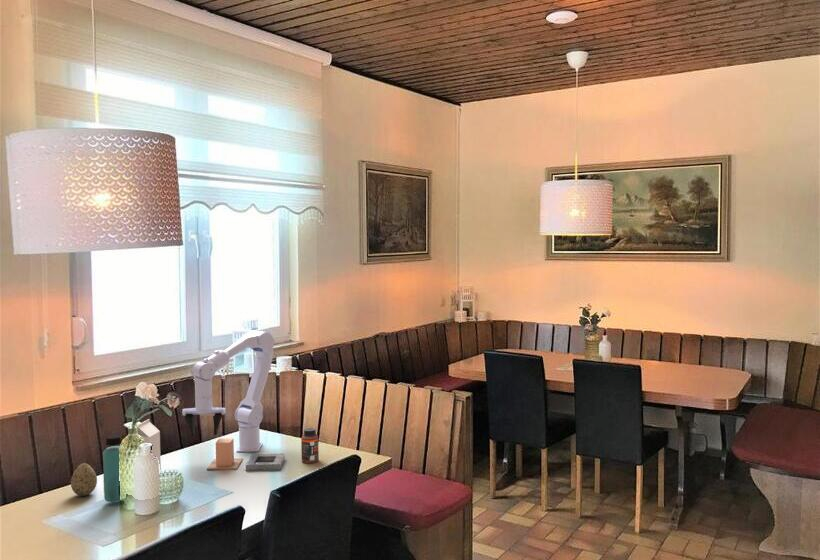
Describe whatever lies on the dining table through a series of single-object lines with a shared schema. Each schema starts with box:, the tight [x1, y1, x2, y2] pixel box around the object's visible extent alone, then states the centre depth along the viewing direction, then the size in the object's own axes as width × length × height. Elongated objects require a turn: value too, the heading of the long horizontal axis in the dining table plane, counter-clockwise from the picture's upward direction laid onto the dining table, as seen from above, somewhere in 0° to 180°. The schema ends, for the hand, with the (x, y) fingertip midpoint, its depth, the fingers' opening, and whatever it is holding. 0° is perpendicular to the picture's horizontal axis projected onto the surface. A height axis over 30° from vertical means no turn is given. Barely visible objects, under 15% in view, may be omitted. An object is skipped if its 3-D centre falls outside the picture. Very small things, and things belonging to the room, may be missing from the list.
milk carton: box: [138, 418, 162, 471], centre depth 218 cm, size 7×7×19 cm
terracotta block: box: [215, 437, 235, 466], centre depth 231 cm, size 5×5×8 cm
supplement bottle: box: [300, 427, 320, 464], centre depth 235 cm, size 6×6×11 cm
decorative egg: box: [70, 462, 98, 497], centre depth 204 cm, size 7×7×10 cm
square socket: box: [245, 453, 286, 472], centre depth 231 cm, size 12×12×2 cm
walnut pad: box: [206, 458, 244, 471], centre depth 231 cm, size 10×10×1 cm
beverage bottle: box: [102, 434, 122, 503], centre depth 198 cm, size 6×7×20 cm
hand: (204, 434), depth 236 cm, fingers open, 7 cm apart
